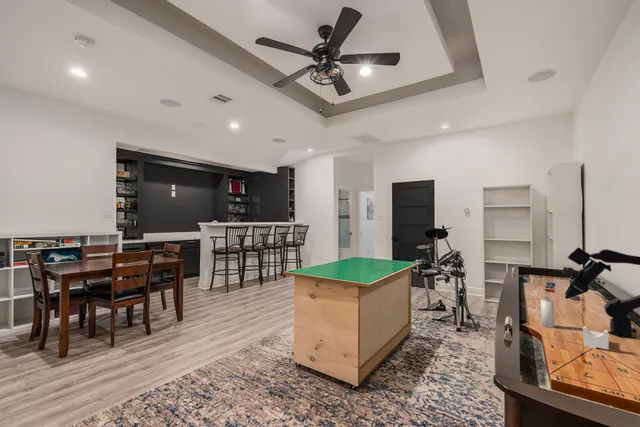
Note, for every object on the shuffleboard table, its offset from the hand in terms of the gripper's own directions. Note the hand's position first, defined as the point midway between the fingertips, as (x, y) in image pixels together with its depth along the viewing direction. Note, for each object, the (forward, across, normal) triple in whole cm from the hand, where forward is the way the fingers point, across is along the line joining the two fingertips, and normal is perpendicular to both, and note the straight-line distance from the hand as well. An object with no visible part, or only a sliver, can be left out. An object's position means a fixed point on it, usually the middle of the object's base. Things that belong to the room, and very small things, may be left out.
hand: (565, 296), depth 141 cm
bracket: (+7, +20, +16) cm, 27 cm away
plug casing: (+16, +5, +3) cm, 17 cm away
